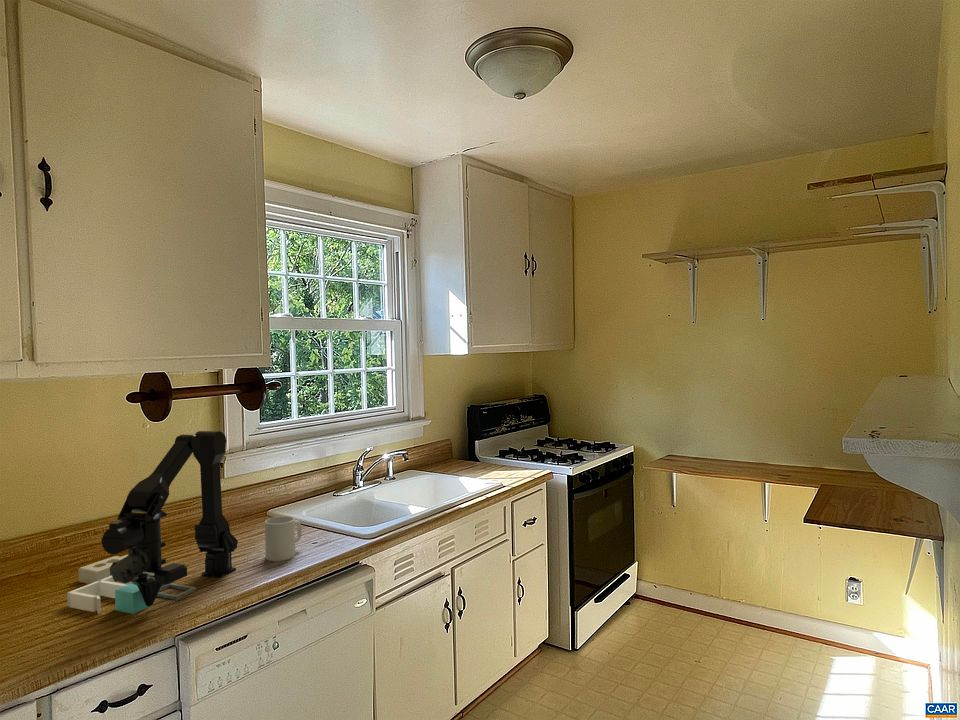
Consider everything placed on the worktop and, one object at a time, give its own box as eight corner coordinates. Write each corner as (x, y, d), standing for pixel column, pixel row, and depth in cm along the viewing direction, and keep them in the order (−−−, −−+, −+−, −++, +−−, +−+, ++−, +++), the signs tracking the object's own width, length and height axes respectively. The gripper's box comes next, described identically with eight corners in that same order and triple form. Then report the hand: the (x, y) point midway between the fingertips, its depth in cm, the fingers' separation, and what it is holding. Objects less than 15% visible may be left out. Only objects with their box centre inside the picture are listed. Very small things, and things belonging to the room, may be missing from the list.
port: (157, 588, 160) (157, 574, 160) (98, 613, 145) (98, 599, 145) (127, 582, 164) (126, 569, 164) (66, 607, 149) (65, 593, 149)
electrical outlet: (155, 550, 179) (95, 571, 163) (156, 564, 179) (95, 586, 163) (138, 547, 182) (77, 567, 166) (139, 561, 182) (78, 582, 166)
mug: (278, 563, 177) (277, 525, 177) (259, 558, 182) (258, 521, 181) (310, 551, 187) (309, 515, 187) (292, 546, 192) (291, 512, 191)
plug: (113, 610, 147) (112, 589, 147) (128, 603, 151) (127, 583, 151) (133, 614, 145) (132, 593, 144) (148, 607, 148) (147, 586, 148)
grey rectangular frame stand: (146, 594, 156) (146, 582, 156) (167, 585, 162) (167, 574, 161) (176, 599, 152) (175, 587, 152) (196, 590, 158) (195, 578, 158)
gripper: (87, 547, 141) (89, 614, 141) (146, 555, 134) (149, 626, 134) (130, 532, 151) (132, 595, 152) (187, 540, 144) (189, 605, 145)
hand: (149, 605), depth 145 cm, fingers closed
